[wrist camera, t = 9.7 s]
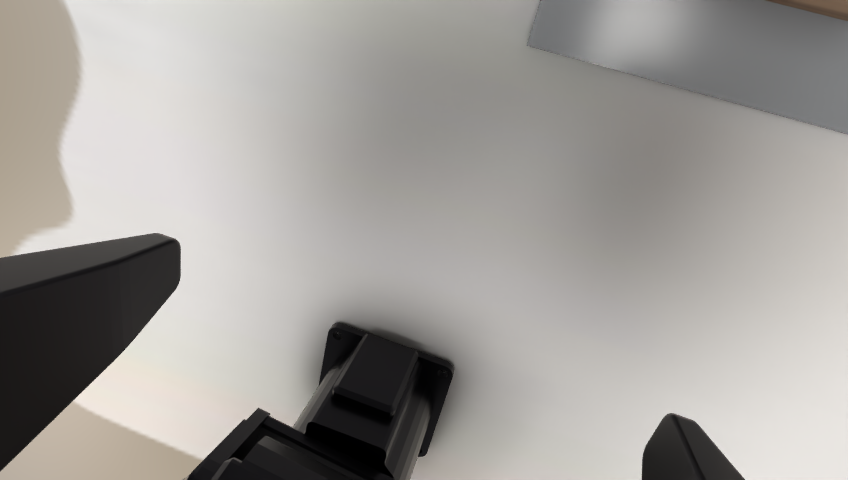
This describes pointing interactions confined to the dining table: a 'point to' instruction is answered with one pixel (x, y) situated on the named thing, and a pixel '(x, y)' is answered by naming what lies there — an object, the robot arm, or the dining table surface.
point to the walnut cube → (820, 7)
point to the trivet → (712, 50)
